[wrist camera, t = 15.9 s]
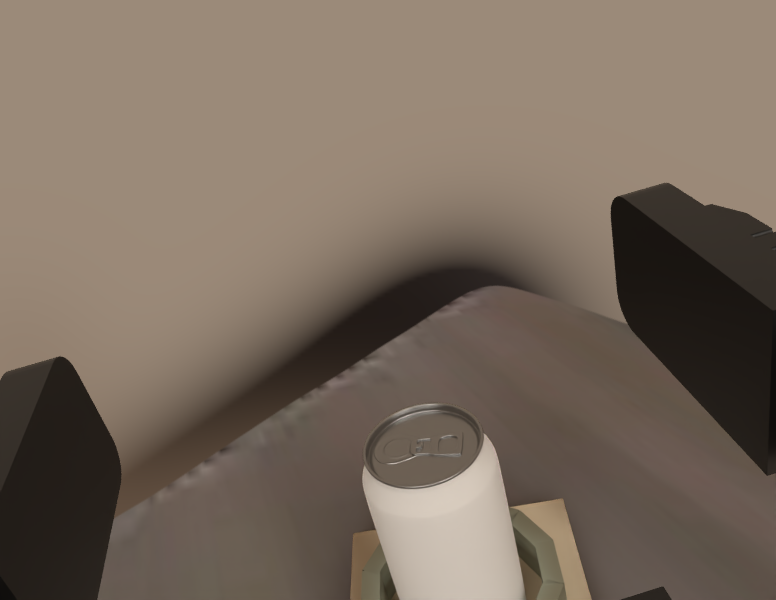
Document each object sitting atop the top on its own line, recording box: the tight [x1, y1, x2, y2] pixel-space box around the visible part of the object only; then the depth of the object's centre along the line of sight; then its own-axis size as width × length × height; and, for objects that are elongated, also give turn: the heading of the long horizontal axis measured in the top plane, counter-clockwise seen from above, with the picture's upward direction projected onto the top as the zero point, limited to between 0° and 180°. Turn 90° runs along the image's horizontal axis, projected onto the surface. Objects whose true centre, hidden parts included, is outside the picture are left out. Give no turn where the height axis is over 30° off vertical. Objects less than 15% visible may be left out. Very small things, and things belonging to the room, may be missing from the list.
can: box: [362, 402, 526, 600], centre depth 37 cm, size 6×6×12 cm
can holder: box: [350, 498, 592, 600], centre depth 40 cm, size 13×13×4 cm
